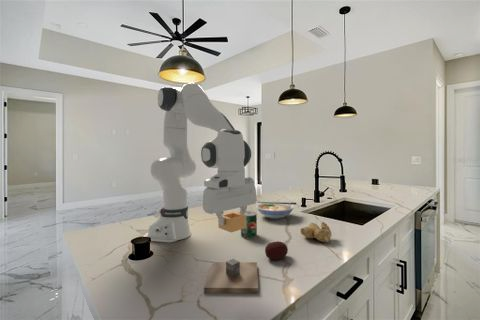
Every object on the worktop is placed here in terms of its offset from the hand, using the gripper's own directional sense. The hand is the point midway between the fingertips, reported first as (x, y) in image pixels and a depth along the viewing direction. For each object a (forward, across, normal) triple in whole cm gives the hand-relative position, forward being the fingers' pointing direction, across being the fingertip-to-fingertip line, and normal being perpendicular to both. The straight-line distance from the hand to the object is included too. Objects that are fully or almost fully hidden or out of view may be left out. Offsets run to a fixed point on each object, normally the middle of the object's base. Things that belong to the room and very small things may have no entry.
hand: (232, 222), depth 77 cm
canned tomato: (+19, -31, -24) cm, 44 cm away
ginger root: (+19, -51, +1) cm, 54 cm away
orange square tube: (+2, 0, 0) cm, 2 cm away
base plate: (+19, 0, 0) cm, 19 cm away
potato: (+19, -22, +1) cm, 29 cm away
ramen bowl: (+19, -64, -35) cm, 75 cm away
